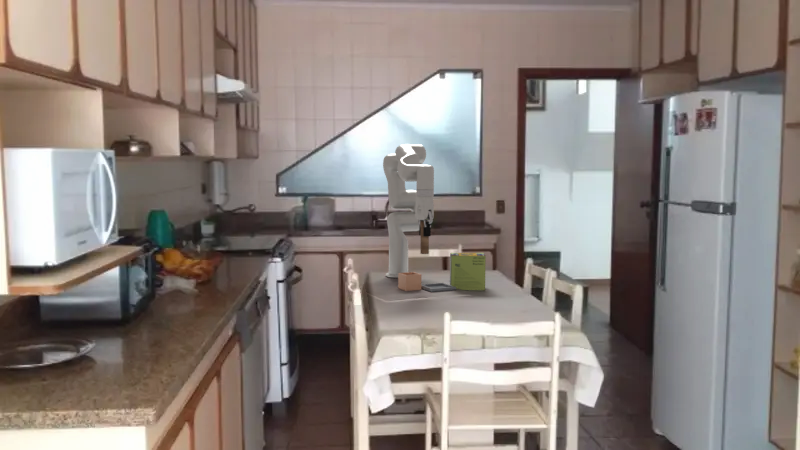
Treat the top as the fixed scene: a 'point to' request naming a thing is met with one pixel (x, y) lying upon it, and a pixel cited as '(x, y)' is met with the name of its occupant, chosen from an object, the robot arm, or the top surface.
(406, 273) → the holder
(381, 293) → the top surface
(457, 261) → the protein box
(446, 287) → the tray
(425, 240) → the dowel
